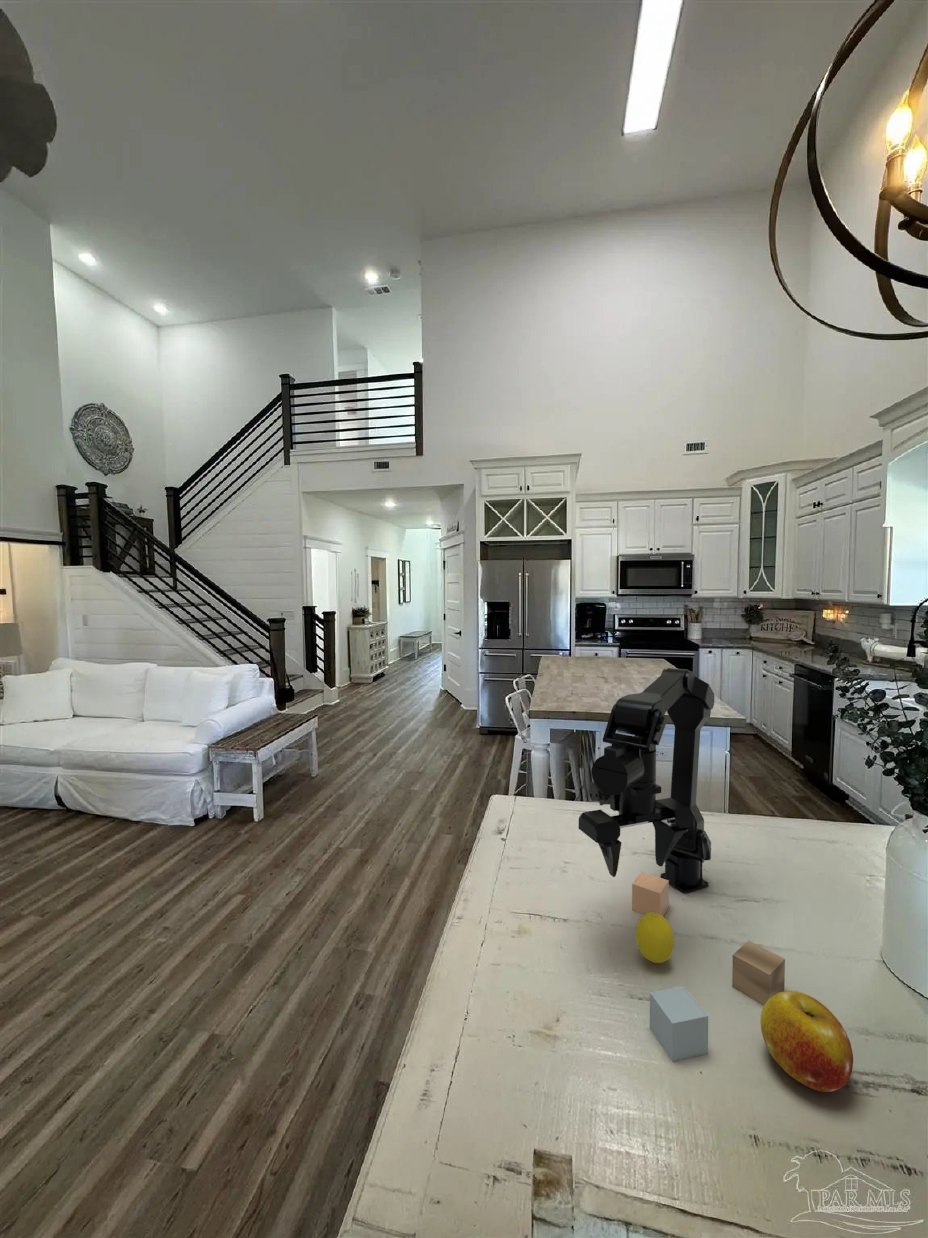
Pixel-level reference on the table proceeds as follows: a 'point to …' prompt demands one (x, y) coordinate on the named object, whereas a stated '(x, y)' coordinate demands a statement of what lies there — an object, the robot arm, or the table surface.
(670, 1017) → the slate block
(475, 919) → the table surface
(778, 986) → the walnut block
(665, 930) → the lemon
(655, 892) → the terracotta block
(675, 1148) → the table surface
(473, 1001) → the table surface
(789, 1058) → the fruit
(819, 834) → the table surface
